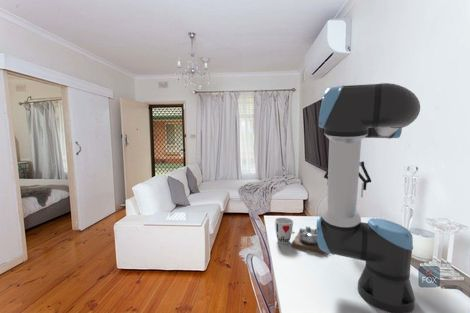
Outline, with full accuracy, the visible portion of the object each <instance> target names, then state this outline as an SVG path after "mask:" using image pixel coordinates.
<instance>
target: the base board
mask: <svg viewBox="0 0 470 313" xmlns="http://www.w3.org/2000/svg"><path fill="white" fill-rule="evenodd" d="M291 248H292V249H298V250H301V251H306V252H311V253H315V254H319V255H323V256H325V255H326V253H327V252H323V251H322V250H321V249H320V248H319V246H312V245H307V244H304V243H302V242H301V241H300V240H299V232H298V233H297V234H296V236H295V237H294V239H293V240H292V242H291Z"/></svg>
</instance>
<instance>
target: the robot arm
mask: <svg viewBox="0 0 470 313" xmlns="http://www.w3.org/2000/svg"><path fill="white" fill-rule="evenodd" d="M420 103H421V102H420V101H419V98H418V97H417V96H416V94H415V93H414V92H413V91H411V90H410V89H408V88H407V87H404V86H402V85H400V84H395V83H391V82H390V83H387V82H386V83H385V82H382V83H372V84H370V83H369V84H368V83H367V84H352V85H351V84H350V85H344V84H343V85H337V86H332V87H327V89H325V91H324V93H323V96H322V99H321V103H320V109H319V116H318V127H319V128H321V129H323V135H325V137H326V138H327V139H328V141H329V143H328V144H329V145H328V165H327V166H328V167H327V171H326V172H325V174H324V176H323V178H324V179H326V180H327V182H326V183H327V184H326V186H327V190H326V191H327V195H326V209H324V210H323V211H322V213H321V215H318V217H317V219H316V229H317V231H316V233H317V242H318V246H319V248H320V249H321V250H322V251H323V252H326V253H327V254H330V255H333V256H334V255H335V256H339V257H345V258H350V259H353V260H354V259H355V260H360V261H362V262H363V261H364V262H365V266H364V269H363V270H362V273H361V274H360V276H359V278H358V280H357V292H358V293H359V295H360V296H361V298H363V300H365V301H366V302H367V303H369V304H371V305H372V306H373V307H376V308H378V309H380V310H384V311H387V312H390V313H410V312H412V311H413V310H414V309H415V304H416V298H415V293H414V290H413V287H412V284H411V281H410V279H411V278H410V275H411V266H412V252H413V249H414V243H413V241H414V240H413V233H411V231H410V230H409V229H408V228H406V227H404V226H403V225H401V224H399V223H397V222H394V221H390V220H387V219H383V218H379V217H378V218H377V217H376V218H375V217H373V218H370V219H368V221H367V222H362V218H361V216H360V215H359V213H357V204H358V203H357V202H358V189H359V179H360V180H361V181H362V182H361V188H360V189H361V190H360V191H361V192H360V198H363V196H364V191H366V190H367V184H368V183H372V179H371V176H370V175H369V172H368V170H367V168H366V166H365V161H362V160H361V148H362V140H363V139H365V138H366V139H367V138H370V139H371V138H372V139H399V138H401V135H402V132H403V131H402V130H403V128H406V127H408V126H410V125H411V124H412V123H414V121H416V119H417V118H418V116H419V115H420V112H421V104H420ZM360 167H361V170H362V171H363V173H364V175H365V176H364V175H362V174H361V172H360Z"/></svg>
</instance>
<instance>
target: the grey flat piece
mask: <svg viewBox="0 0 470 313" xmlns="http://www.w3.org/2000/svg"><path fill="white" fill-rule="evenodd" d="M316 231H317V228H314V229H312V228H311V227H310V226H305V228H299V231H298V233H299V240H300V241H301V242H302V243H304V244H307V245H312V246H318V242H317V233H316Z"/></svg>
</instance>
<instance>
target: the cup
mask: <svg viewBox="0 0 470 313" xmlns="http://www.w3.org/2000/svg"><path fill="white" fill-rule="evenodd" d="M274 222H275V223H274V224H275V225H274V226H275V234H276V238H277V242H278V243H279V244H283V245H286V244H288V243H289V242H290V240H291V239H292V238H291V237H292V234H293V233H292V231H293V227H294V225H293V224H294V220H293V219H291V218H287V217H277V218H275V221H274Z"/></svg>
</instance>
